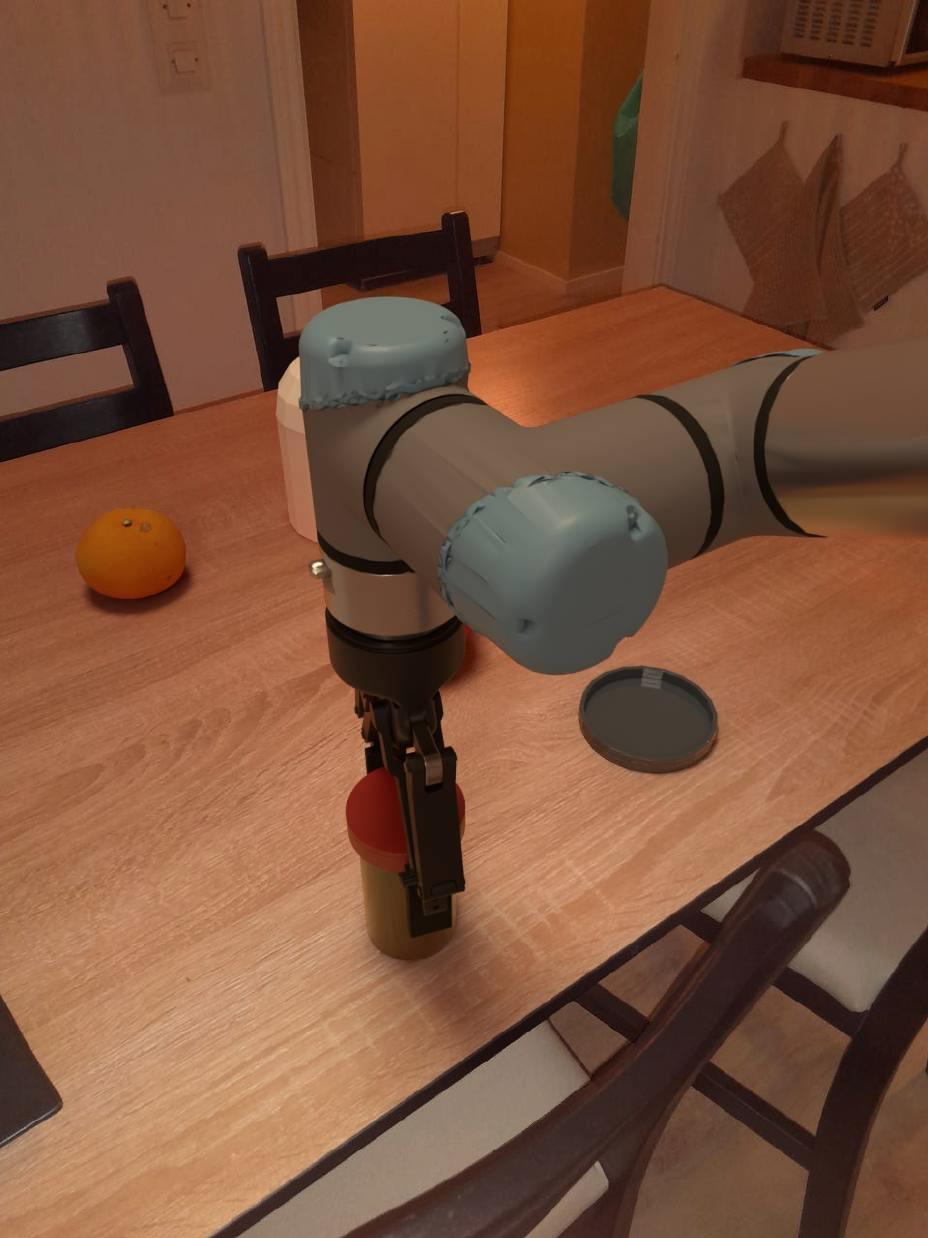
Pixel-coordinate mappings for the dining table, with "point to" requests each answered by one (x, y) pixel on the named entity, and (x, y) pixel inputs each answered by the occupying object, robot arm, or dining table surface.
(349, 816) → the lid
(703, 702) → the saucer
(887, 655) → the dining table surface
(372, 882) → the jar
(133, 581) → the fruit
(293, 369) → the container
